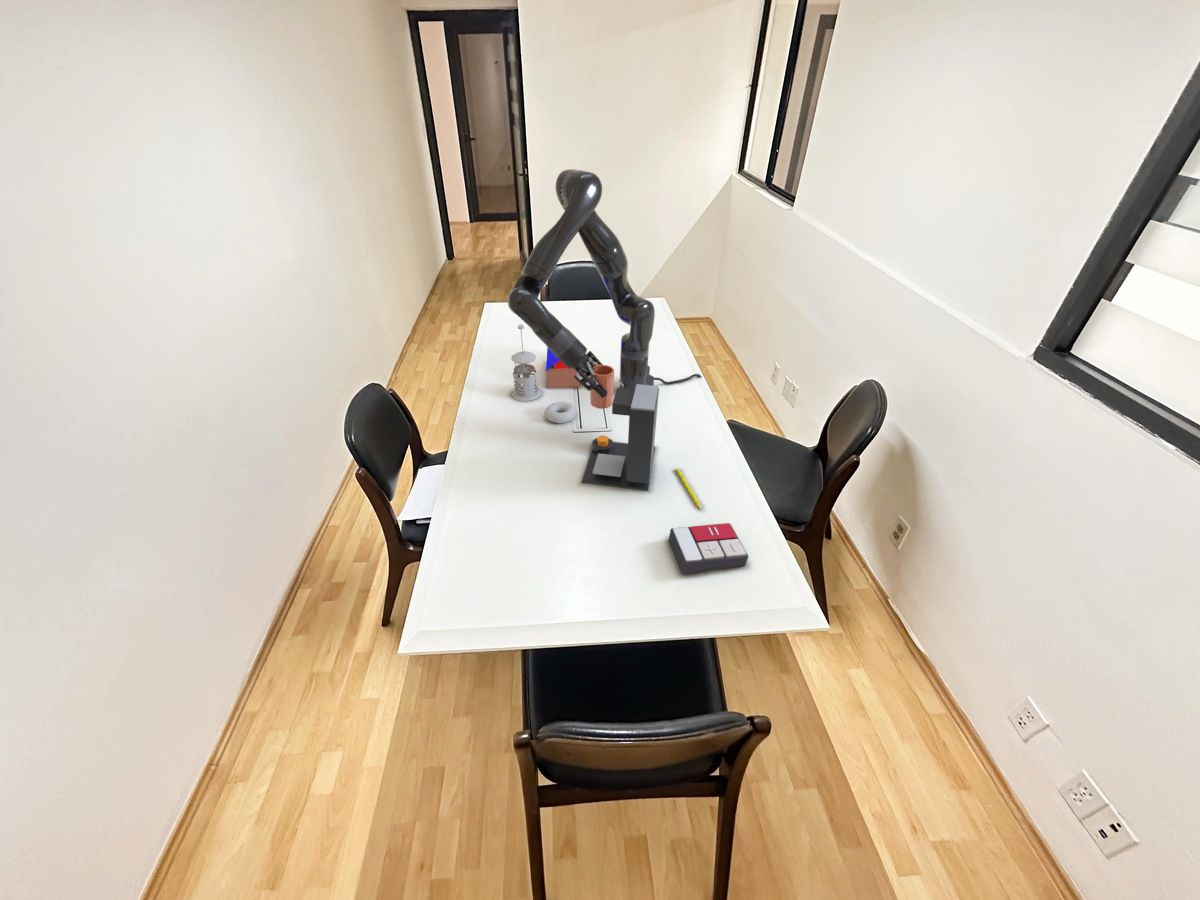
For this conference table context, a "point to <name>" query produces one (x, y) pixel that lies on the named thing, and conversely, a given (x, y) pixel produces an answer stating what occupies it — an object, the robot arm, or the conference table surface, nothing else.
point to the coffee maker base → (606, 480)
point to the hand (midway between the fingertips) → (607, 389)
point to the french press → (524, 375)
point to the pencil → (688, 488)
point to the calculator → (707, 547)
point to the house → (559, 373)
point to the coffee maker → (634, 434)
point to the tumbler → (606, 379)
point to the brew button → (602, 441)
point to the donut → (563, 407)
